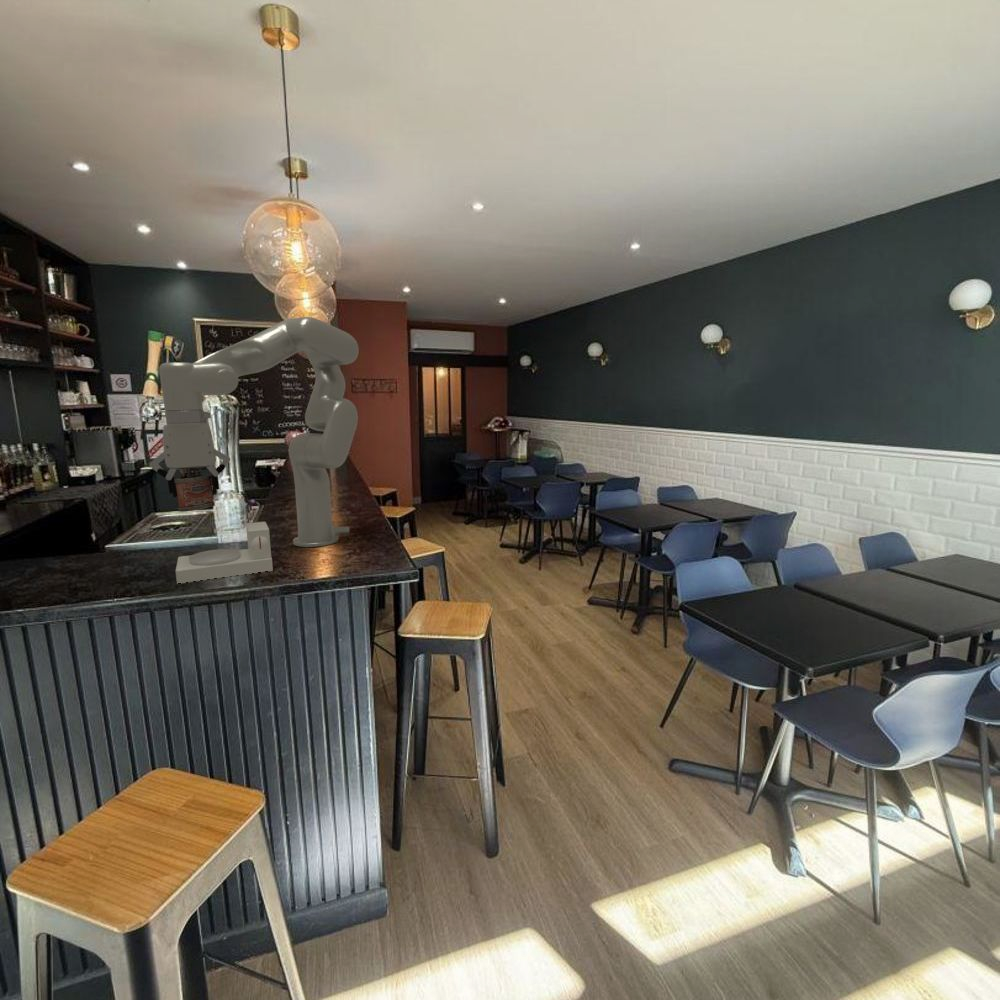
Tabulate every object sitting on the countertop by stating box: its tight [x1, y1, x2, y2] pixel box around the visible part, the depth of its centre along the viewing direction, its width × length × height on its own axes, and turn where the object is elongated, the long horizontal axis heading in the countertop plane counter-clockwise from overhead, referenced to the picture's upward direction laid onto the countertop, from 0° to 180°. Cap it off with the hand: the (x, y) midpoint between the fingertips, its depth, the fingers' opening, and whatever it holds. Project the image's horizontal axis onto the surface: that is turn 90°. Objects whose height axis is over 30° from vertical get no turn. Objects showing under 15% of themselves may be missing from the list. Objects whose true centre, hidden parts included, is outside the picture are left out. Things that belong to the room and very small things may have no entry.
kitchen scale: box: [175, 521, 274, 585], centre depth 130 cm, size 20×13×10 cm, turn 118°
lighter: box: [174, 467, 216, 513], centre depth 125 cm, size 8×3×10 cm, turn 147°
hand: (195, 494), depth 125 cm, fingers closed on lighter, 7 cm apart
